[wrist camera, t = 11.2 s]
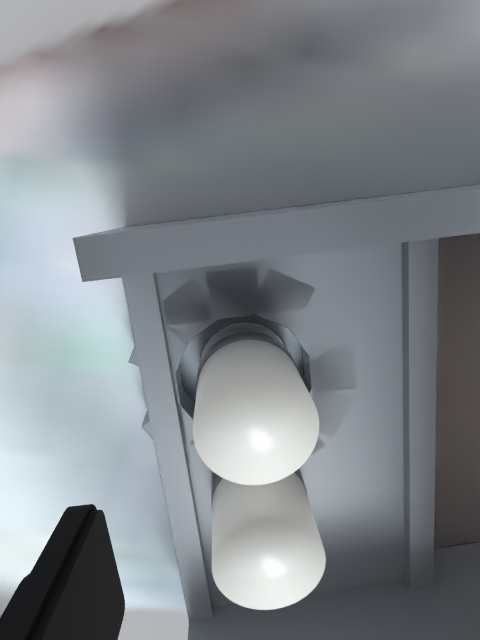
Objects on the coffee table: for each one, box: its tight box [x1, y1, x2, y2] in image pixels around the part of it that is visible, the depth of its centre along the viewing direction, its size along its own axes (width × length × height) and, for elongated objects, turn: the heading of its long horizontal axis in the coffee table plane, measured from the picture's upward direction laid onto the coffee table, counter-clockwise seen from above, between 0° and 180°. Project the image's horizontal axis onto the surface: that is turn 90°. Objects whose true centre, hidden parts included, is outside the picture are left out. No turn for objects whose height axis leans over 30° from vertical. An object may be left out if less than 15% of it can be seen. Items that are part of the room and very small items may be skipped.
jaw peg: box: [193, 322, 319, 485], centre depth 16 cm, size 4×4×6 cm
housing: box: [73, 184, 480, 640], centre depth 17 cm, size 23×20×7 cm
